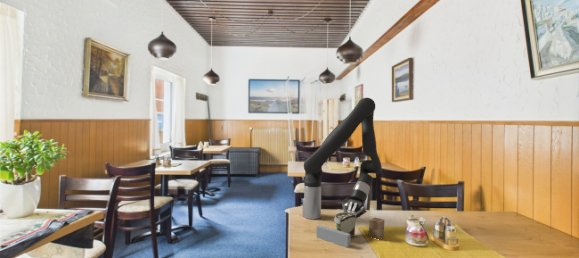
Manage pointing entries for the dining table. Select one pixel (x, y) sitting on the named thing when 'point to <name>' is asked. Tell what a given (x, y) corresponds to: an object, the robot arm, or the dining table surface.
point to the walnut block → (376, 228)
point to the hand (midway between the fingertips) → (347, 224)
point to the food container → (346, 222)
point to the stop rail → (333, 236)
